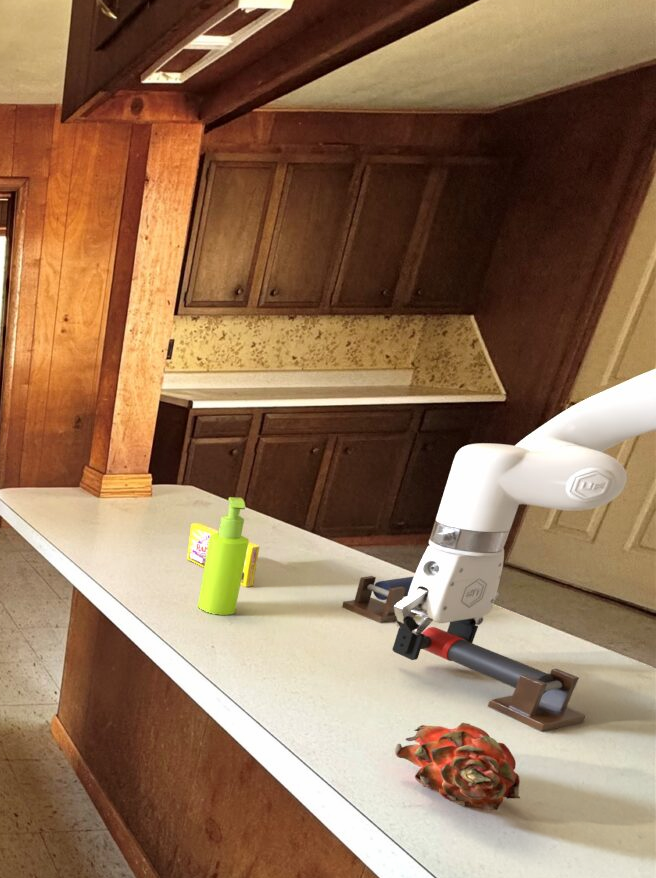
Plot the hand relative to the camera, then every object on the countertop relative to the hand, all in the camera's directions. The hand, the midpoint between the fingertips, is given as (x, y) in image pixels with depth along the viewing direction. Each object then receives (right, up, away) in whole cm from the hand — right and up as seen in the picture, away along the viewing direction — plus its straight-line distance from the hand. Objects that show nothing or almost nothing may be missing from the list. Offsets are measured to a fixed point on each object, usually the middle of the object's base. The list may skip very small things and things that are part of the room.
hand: (430, 650), depth 95 cm
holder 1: (+6, +5, +18) cm, 19 cm away
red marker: (+2, -2, -6) cm, 7 cm away
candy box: (-10, +12, +37) cm, 41 cm away
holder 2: (+3, -7, -11) cm, 14 cm away
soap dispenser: (-19, +5, +21) cm, 29 cm away
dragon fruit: (-19, -13, -24) cm, 33 cm away
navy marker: (+13, +8, +18) cm, 24 cm away
